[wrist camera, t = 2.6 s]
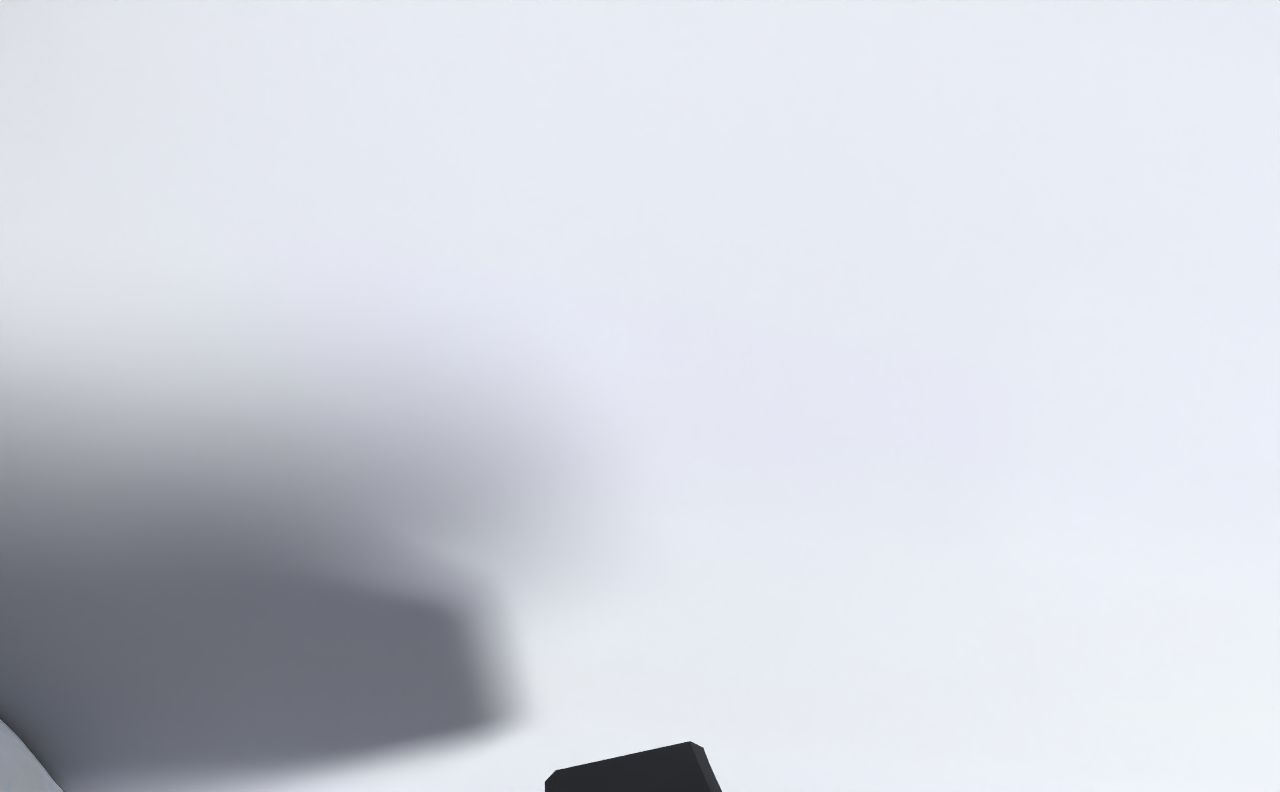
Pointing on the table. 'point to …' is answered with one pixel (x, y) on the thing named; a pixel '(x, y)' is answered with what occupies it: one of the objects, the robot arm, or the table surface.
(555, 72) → the table surface
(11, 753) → the ramekin
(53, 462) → the table surface
